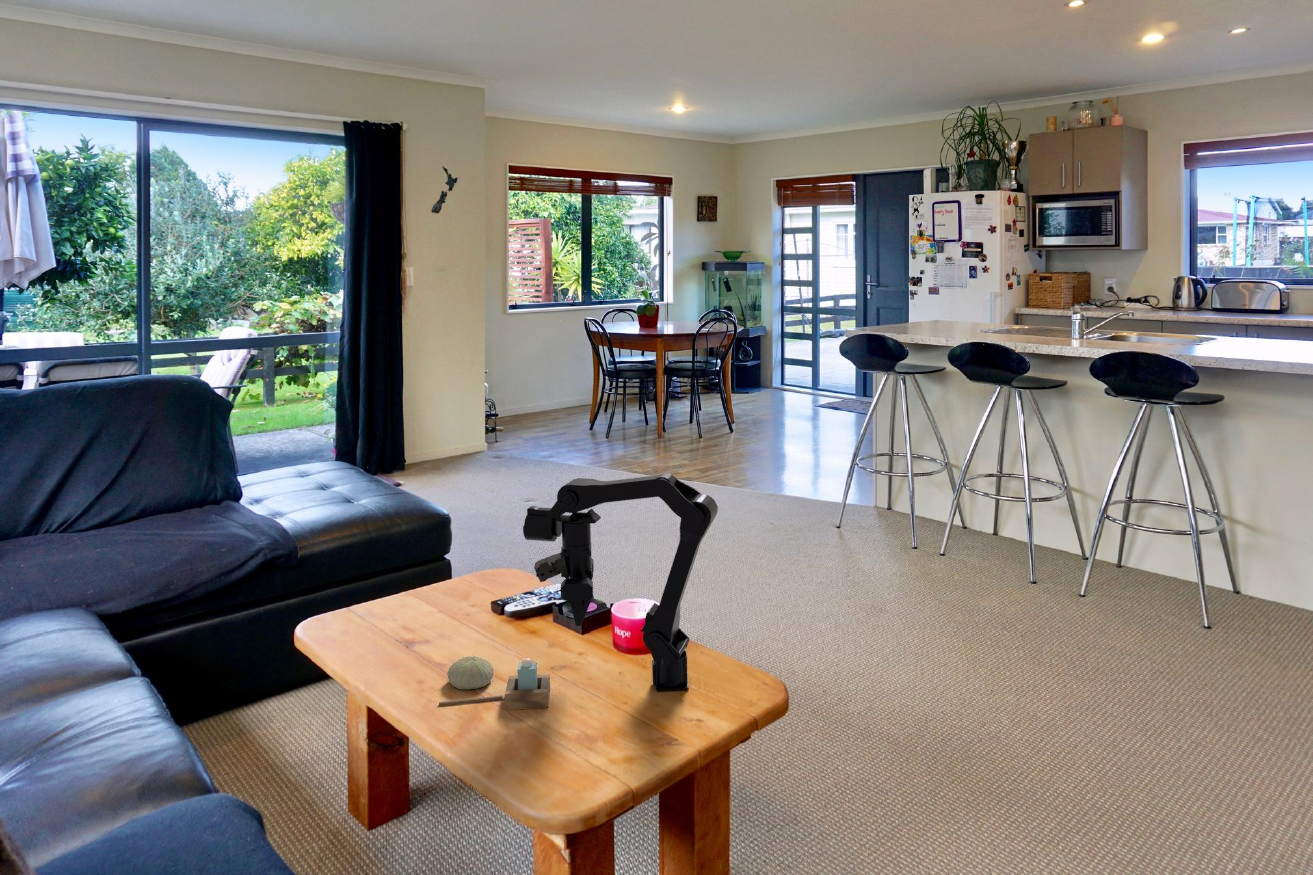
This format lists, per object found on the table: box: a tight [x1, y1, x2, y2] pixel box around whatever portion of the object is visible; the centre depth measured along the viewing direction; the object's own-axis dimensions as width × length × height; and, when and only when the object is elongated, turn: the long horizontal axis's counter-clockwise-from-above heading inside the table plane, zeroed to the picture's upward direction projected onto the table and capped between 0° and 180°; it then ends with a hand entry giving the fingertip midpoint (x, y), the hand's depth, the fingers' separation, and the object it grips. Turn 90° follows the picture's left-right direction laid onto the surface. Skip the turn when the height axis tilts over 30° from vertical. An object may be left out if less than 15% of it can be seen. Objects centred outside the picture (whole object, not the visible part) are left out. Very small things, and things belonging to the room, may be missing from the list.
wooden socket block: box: [504, 673, 551, 711], centre depth 181 cm, size 8×8×3 cm
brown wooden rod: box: [438, 695, 504, 707], centre depth 181 cm, size 12×1×1 cm, turn 101°
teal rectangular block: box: [516, 657, 538, 690], centre depth 181 cm, size 3×3×8 cm
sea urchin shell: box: [447, 655, 495, 690], centre depth 189 cm, size 9×8×8 cm
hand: (579, 616), depth 189 cm, fingers open, 9 cm apart
